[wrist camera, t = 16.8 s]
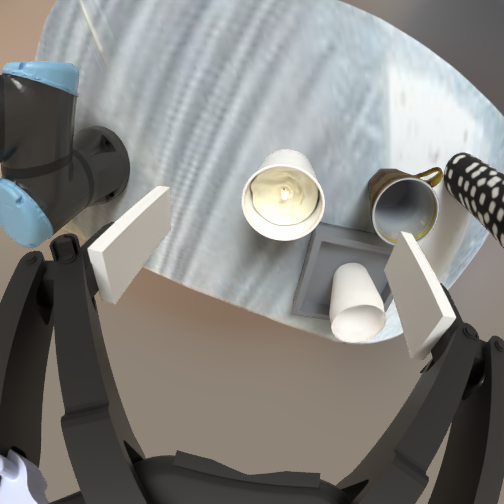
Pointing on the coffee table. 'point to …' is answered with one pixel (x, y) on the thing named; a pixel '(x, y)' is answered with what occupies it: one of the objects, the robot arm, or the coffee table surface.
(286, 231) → the candle holder
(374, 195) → the ceramic cup
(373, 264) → the tray
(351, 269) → the cup
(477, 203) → the spotted tube
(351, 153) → the coffee table surface
